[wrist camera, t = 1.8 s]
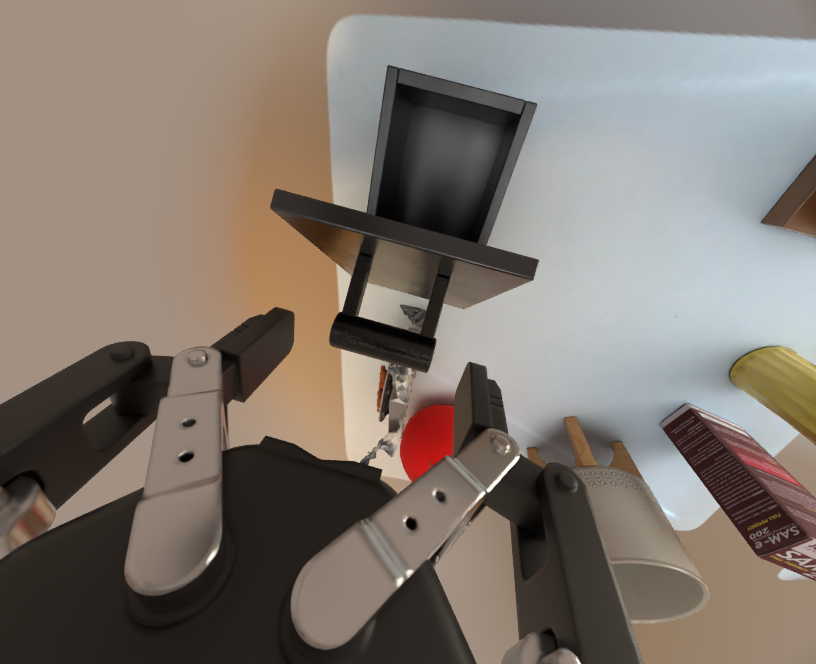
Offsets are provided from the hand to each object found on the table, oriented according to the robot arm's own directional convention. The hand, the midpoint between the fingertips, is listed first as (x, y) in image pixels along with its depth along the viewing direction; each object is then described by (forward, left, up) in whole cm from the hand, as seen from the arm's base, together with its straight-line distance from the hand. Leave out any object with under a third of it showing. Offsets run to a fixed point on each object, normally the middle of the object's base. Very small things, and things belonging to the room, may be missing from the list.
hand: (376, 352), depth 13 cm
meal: (+16, +1, -23) cm, 28 cm away
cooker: (-5, 0, -23) cm, 23 cm away
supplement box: (+14, +41, -23) cm, 49 cm away
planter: (+24, +29, -23) cm, 44 cm away
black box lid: (-2, 0, -7) cm, 7 cm away
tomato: (+26, +10, -23) cm, 36 cm away
